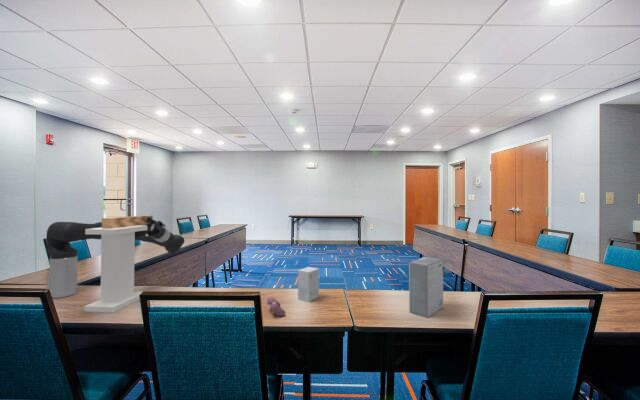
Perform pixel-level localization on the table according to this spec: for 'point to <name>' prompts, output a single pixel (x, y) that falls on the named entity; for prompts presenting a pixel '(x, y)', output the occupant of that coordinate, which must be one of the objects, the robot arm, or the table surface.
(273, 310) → the purple toy animal
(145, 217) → the baton
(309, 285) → the small box
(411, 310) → the hard drive box
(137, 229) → the plinth
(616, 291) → the table surface
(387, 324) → the table surface
